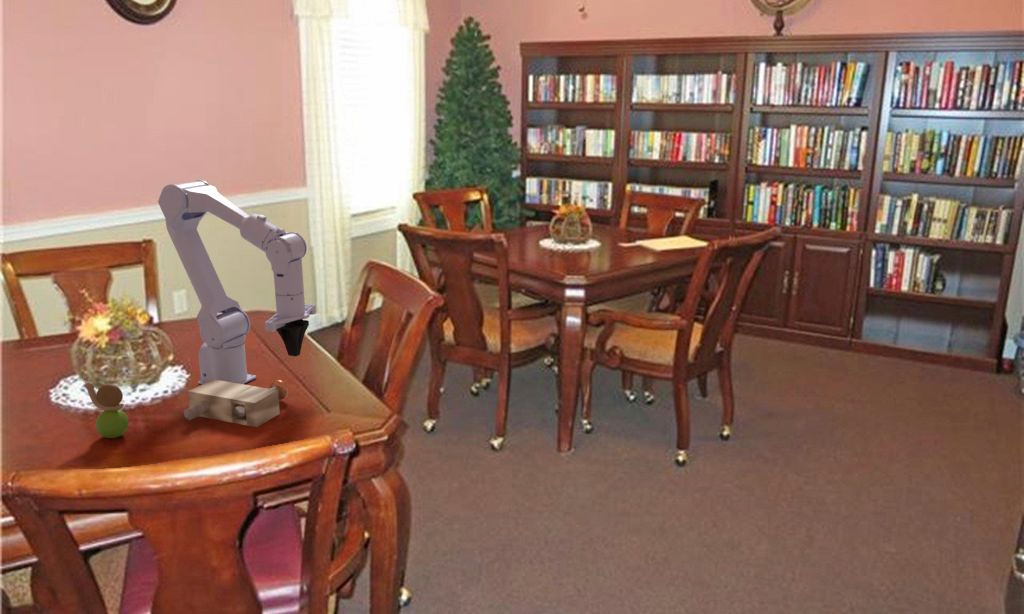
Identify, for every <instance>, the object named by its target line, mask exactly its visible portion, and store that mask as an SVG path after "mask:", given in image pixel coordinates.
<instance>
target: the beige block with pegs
mask: <svg viewBox="0 0 1024 614" xmlns="http://www.w3.org/2000/svg"><path fill="white" fill-rule="evenodd" d="M187 395H188V404H189V405H188V406H189V407H188V408H186V409H184V411H183V416H184V418H185V419H186V420H188V421H191V420H194V419H195V418H198V417H201V418H206V419H210V420H215V421H216V420H217V421H223V422H226V423H227V422H228V423H233V424H237V425H243V426H248V427H251V428H259V426H262V425H263V424H265V423H266V422H268V421H270V420H271V419H274V418H275V417H277V416H279V415H280V410H281V409H280V400H279V397H278V390H273V389H270V388H266V387H261V386H255V385H249V384H238V383H232V382H226V381H220V380H214V379H212V380H210V381H208V382H206V383H204V384H200V385H198V386H196V387H194V388H192V389H189V390H187ZM239 405H245V409H246V415H244V416H243V417H237V416H236V415H235V413H234V408H235V407H237V406H239Z"/></svg>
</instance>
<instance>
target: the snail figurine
mask: <svg viewBox="0 0 1024 614" xmlns="http://www.w3.org/2000/svg"><path fill="white" fill-rule="evenodd" d="M88 379H89V375H85V377H83V381H84V382H85V389H86V390H87V393H88V396H89V398H90V400H91V402H92V404H93V405H94V406H95V407H96V408H97V409H99V410H102V412H101V413H100V414H98V416H97V418H96V420H95V429H96V431H97V433H98V434H99V435H100V436H102V437H104V438H106V439H116V438H119V437H121V436H122V435H124V434H125V433H126V432H127V430H128V428H129V421H130V420H129V417H128V415H127V414H126V412H125V411H123V410H121V409H122V408H123V407H124V406H125V404H124V403H121V402H122V400H123V399H124V397H123V396H124V395H123V392H122V390H121V388H119V387H118V386H117V385H116V384H111V383H107V384H103V385H101V386H100V387H99V388H98V389H97V392H96V390H95V385H94V383H93V382H91V381H88Z"/></svg>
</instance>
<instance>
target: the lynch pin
mask: <svg viewBox="0 0 1024 614" xmlns="http://www.w3.org/2000/svg"><path fill="white" fill-rule="evenodd" d="M269 389H273V390H278V397H279V401H280V400H284V399H286V398H287V397H288V395H289V394H290V388H289V385H288V384H287V382H286V381H284V380H282V379H277V380H274V381H273V382H271V384H270V386H269ZM234 413H235V415H236V416H237V417H243V416H244V415H246V409H245V405H239V406H237V407H235V408H234Z"/></svg>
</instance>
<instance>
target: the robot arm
mask: <svg viewBox="0 0 1024 614" xmlns="http://www.w3.org/2000/svg"><path fill="white" fill-rule="evenodd" d="M157 203H158V205H159V208H160V210H161V212H162V214H163V217H164V218H165V220H164V221H165V224H166V225H165V227H166V230H167V232H168V235H169V237H170V240H171V241H172V245H173V246H174V248H175V250H176V252H177V255H178V257H179V259H180V262H181V263H182V265H183V268H184V269H185V272H186V274H187V276H188V279H189V280H190V283H191V286H192V287H193V290H194V292H195V294H196V296H197V299H198V301H199V303H200V304H201V306H200V309H199V311H198V313H197V314H196V320H197V323H198V327H199V336H200V338H201V339H202V341H203V344H202V345H201V346H200V348H199V351H198V365H199V372H200V373H199V374H200V380H198V382H197V383H198V384H200V385H202V384H204V383H206V382H208V381H210V380H212V379H214V380H220V381H226V382H232V383H238V384H244V385H246V384H247V383H248V382H250V381H253V380H254V379H256V378H257V375H255V374H249V373H248V368H247V359H246V358H247V357H246V346H245V340H246V339H247V337H246V335H247V334H248V333H249V331H250V330H251V320H250V318H249V315H248V314H247V313H246V311H244V310H243V309H242V307H241V305H240V303H239V302H238V301H237V300H235V299H234V298H232V297H230V296H228V295H227V293H226V291H225V289H224V287H223V285H222V282H221V280H220V278H219V276H218V273H217V271H216V270H215V266H214V264H213V262H212V260H211V258H210V256H209V253H208V252H207V250H206V249H207V248H206V247H205V245H204V242H203V240H202V238H201V236H200V234H199V230H198V227H199V224H200V222H201V220H202V219H203V218H204V217H205V215H206V214H207V213H209V214H211V215H214V216H215V217H217V218H219V219H220V220H222V221H224V222H225V223H228V224H230V225H232V226H234V227H235V228H237V229H239V233H240V236H241V238H242V239H244V240H245V241H247V242H249V243H250V244H251V245H253V246H255V247H256V248H258V249H260V250H261V251H262V252H264V254H265V255H266V258H267V260H268V261H269V263H270V267H271V271H272V273H273V282H274V283H273V284H274V293H275V294H274V295H275V297H274V298H275V308H276V309H275V310H276V313H275V314H274V315H273V316H271V317H270V318H269V319H268V320H266V321H264V329H265V332H271V333H274V332H276V331H277V333H278V334H279V336H280V338H281V339H282V342H283V343H284V346H285V350H286V352H287V354H288V356H289V357H299V356H300V354H301V350H302V346H303V341H304V337H305V334H306V332H307V330H308V328H309V326H310V323H309V322H310V321H309V320H307V319H308V318H310V315H315V314H317V310H316V309H317V308H316V305H315V304H309V303H307V304H305V294H304V293H305V289H304V276H303V275H304V274H303V272H304V271H303V262H302V260H303V258H304V257H305V256H306V254H307V249H308V248H307V244H306V241H305V239H304V238H303V237H302V236H301V235H300V234H299V233H298V232H296V231H290V232H287V231H285V229H284V228H283V227H278V226H277V225H275V224H274V223H272V222H270V221H269V220H268V219H267V216H265V215H264V214H258V213H255V214H250V215H249V214H248V213H246V212H245V211H244V210H243V209H241V208H240V207H239V206H237V205H236V204H234V203H233V202H231V201H230V200H229V199H227V198H226V197H225V196H223V194H221V193H220V192H218V189H217V187H216V186H214V185H211V184H210V183H209V182H207V181H205V180H203V179H199V180H194V181H190V182H189V181H188V182H183V183H182V182H181V183H177V184H176V183H175V184H173V183H171V184H167V185H165V186H164V187H163V188H162V190H161V192H160V195H159V198H158V200H157ZM219 313H220V314H219Z"/></svg>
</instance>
